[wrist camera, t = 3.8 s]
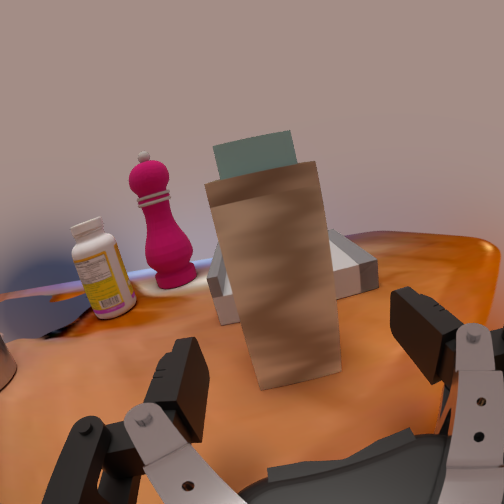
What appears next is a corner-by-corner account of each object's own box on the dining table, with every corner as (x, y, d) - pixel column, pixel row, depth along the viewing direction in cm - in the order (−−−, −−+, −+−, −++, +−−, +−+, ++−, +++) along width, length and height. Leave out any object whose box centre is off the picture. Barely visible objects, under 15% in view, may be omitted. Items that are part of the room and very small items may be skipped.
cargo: (226, 202, 14) (212, 146, 13) (229, 196, 18) (218, 151, 17) (302, 186, 14) (290, 130, 13) (289, 183, 18) (279, 138, 17)
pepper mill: (193, 267, 46) (162, 150, 41) (206, 278, 40) (170, 140, 34) (153, 281, 44) (119, 162, 38) (159, 295, 37) (118, 154, 32)
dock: (221, 325, 26) (206, 278, 25) (227, 274, 40) (218, 240, 38) (378, 287, 26) (375, 240, 24) (336, 249, 39) (331, 215, 38)
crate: (260, 390, 17) (204, 184, 13) (256, 344, 22) (214, 180, 18) (341, 371, 17) (315, 160, 13) (321, 329, 22) (294, 163, 18)
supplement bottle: (117, 298, 40) (90, 219, 36) (146, 299, 37) (117, 210, 33) (88, 319, 34) (55, 232, 30) (115, 323, 31) (79, 224, 27)
